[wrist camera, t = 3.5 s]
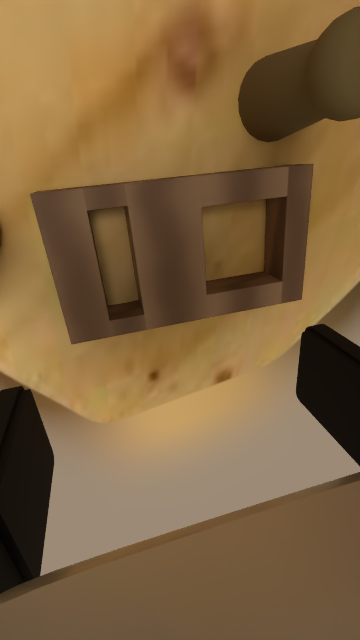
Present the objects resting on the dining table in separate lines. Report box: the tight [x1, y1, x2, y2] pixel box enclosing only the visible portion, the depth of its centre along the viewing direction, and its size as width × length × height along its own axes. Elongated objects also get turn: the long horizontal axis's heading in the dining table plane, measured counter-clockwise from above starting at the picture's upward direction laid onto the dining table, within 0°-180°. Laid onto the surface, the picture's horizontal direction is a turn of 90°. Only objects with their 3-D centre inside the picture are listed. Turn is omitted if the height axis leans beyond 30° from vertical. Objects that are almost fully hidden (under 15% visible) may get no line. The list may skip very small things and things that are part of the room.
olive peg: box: [238, 7, 360, 142], centre depth 22 cm, size 6×6×11 cm
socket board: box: [30, 164, 314, 344], centre depth 28 cm, size 22×12×4 cm, turn 95°
